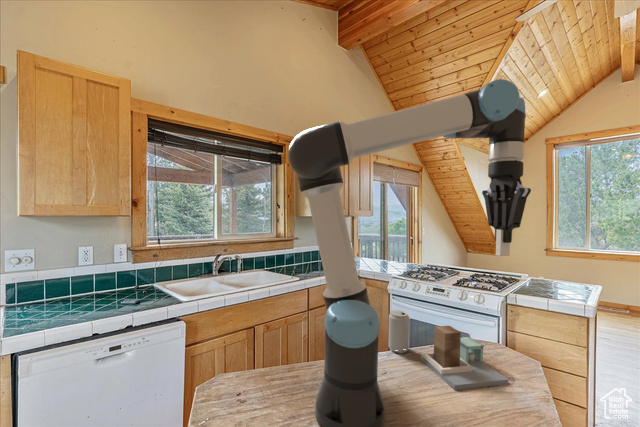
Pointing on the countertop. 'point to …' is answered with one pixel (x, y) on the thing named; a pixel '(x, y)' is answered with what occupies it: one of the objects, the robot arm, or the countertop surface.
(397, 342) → the beverage can
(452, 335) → the block
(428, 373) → the countertop surface
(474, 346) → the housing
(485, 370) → the jig board
